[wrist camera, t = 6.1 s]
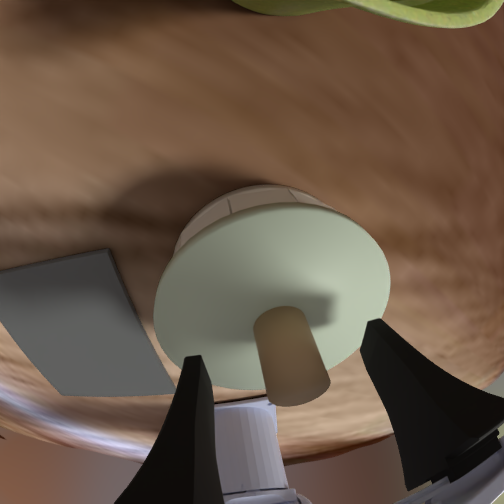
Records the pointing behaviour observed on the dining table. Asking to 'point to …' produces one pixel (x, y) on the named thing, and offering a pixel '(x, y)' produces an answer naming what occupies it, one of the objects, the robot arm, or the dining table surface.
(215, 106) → the dining table surface
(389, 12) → the plant pot
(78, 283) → the mat
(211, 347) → the lid
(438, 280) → the dining table surface
